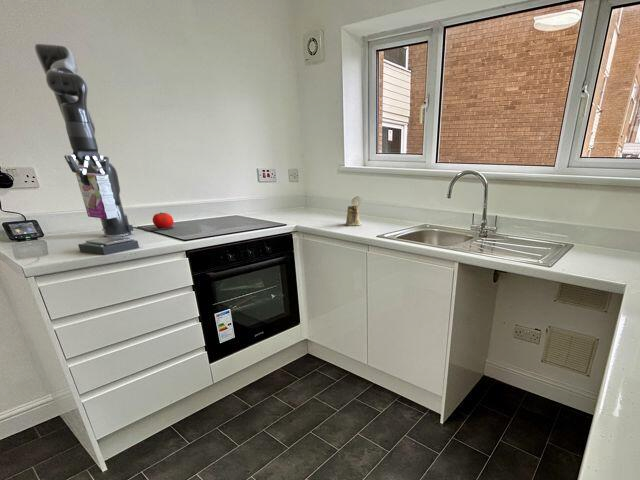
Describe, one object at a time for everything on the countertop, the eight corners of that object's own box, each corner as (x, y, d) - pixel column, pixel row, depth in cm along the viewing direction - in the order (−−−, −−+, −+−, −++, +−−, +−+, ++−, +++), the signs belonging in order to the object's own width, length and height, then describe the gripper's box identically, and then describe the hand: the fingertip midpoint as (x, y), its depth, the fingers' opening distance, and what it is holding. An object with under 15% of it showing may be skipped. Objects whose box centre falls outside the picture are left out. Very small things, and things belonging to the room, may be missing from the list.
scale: (116, 244, 150) (114, 237, 149) (139, 247, 147) (137, 239, 146) (80, 251, 138) (77, 243, 136) (104, 255, 134) (102, 246, 133)
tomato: (163, 226, 192) (159, 210, 189) (180, 227, 191) (177, 211, 188) (149, 229, 184) (145, 213, 180) (167, 230, 182) (163, 214, 179)
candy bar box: (87, 217, 138) (74, 173, 132) (100, 215, 142) (89, 172, 136) (106, 219, 134) (94, 174, 128) (120, 217, 139) (109, 174, 133)
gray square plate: (114, 237, 148) (113, 235, 148) (133, 240, 145) (133, 238, 145) (86, 242, 138) (85, 240, 138) (106, 245, 135) (105, 243, 135)
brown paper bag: (350, 227, 209) (350, 196, 202) (343, 224, 220) (343, 194, 213) (364, 226, 212) (364, 196, 206) (357, 223, 224) (356, 194, 217)
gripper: (66, 134, 120) (81, 186, 126) (109, 137, 133) (121, 184, 139) (51, 134, 122) (66, 185, 128) (95, 137, 135) (107, 183, 141)
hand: (94, 184), depth 134 cm, fingers closed on candy bar box, 5 cm apart
